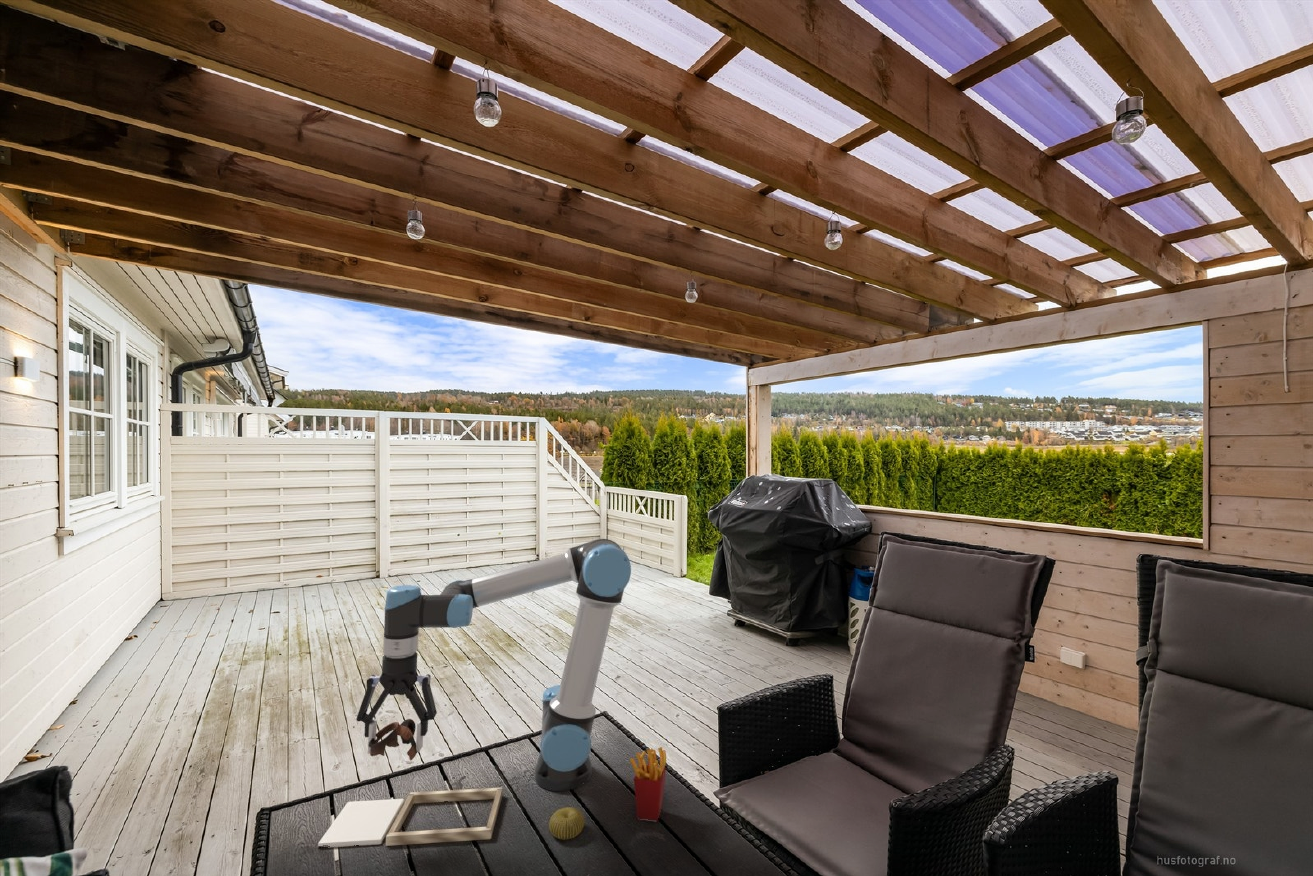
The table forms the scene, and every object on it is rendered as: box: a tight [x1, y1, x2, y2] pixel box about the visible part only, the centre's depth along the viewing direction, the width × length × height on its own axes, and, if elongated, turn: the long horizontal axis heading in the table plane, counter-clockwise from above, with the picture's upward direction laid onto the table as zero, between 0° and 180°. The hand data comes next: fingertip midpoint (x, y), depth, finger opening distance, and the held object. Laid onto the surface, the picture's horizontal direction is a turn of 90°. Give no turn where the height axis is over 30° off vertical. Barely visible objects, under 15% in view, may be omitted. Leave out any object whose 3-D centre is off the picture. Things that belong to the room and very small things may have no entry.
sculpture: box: [548, 806, 585, 840], centre depth 129 cm, size 8×4×8 cm
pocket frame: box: [385, 786, 504, 847], centre depth 133 cm, size 22×16×2 cm
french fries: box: [629, 746, 667, 821], centre depth 136 cm, size 9×8×15 cm
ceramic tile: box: [317, 798, 405, 848], centre depth 130 cm, size 13×15×1 cm
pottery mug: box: [367, 718, 418, 761], centre depth 132 cm, size 12×10×8 cm
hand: (395, 750), depth 132 cm, fingers closed on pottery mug, 10 cm apart
